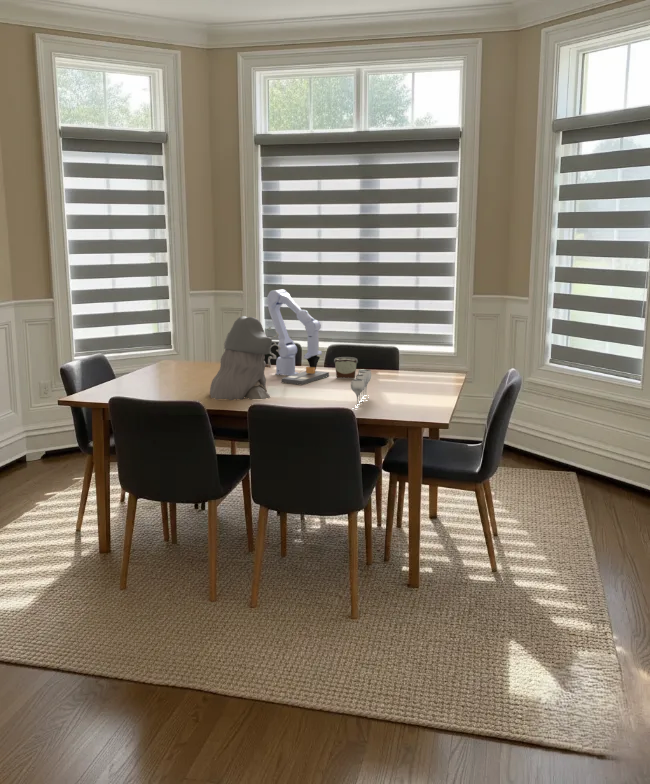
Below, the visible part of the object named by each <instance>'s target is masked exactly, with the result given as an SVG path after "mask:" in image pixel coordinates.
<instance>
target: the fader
mask: <svg viewBox="0 0 650 784" xmlns="http://www.w3.org/2000/svg"><path fill="white" fill-rule="evenodd" d="M305 371H306V373H311V374H314V373H315V371H316V370H315V367H310V365H309V366H306V367H305Z"/></svg>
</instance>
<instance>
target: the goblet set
mask: <svg viewBox="0 0 650 784" xmlns="http://www.w3.org/2000/svg"><path fill="white" fill-rule="evenodd" d="M371 379H372V370H371V369H366V368H363V369H361V368H360V369H358V374H355V379H354V378H352V379H351V383H350V390H352V392H354V393H355V395H356V404H357V406H354V407H355V408H359V407H360V406H358V405H360V404H361V403H360V402H364V401H365V400H362V399H366V398H364V396H367V388H368V384H369V383H370V381H371ZM362 396H363V397H362ZM360 398H361V400H360ZM358 401H359V403H358ZM352 409H353V410H355V409H354V408H352Z"/></svg>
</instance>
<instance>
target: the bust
mask: <svg viewBox="0 0 650 784" xmlns="http://www.w3.org/2000/svg"><path fill="white" fill-rule="evenodd" d="M232 324H233V325H232V327H231V328H230V330H229V332H228V333H227V335H226V338H225V340H224V344H223V345H224V347H223V348H224V349H225V350H224V352H223V354H222V355H221V357H220V367H219V369H218V371H217V373H216V374H215V376H214V377H213V379H212V380H211V384H210V388H209V395H210V399H212V398H215V399H214V400H219V399H229V400H230V401H238V400H237V399H240V400H244V399H248V398H249V399H248V400H252V399H263V400H266V398H268V399H270V398H271V397H270V396H271V395H270V394H269V393H268V389H267V387H266V384H267V377H266V375H265V369H266V368H271V367H272V364H271V359H272V360H277V355H276V354H274V353H273V352H272V351H271V350H272V347H274V346H276V347H277V348H278V347H279V350H280V349H281V347H280V346H279V345H278V343H277V342H276V341H273V338H278V336H279V333H278V332H276V330H275V329H274V330H273V329H272V326H269V327H267V330H268V331H269V330H270V331H274V332H275V333H276V335H274V336H271V337H269V336H267V335H266V332H265V331H264V328H263V325H262V323H261V322H260V320H259V319H258V318H256V317H253V316H246V315H243V316H239V317H238V318H237V319H235V321H234V323H232ZM272 343H273V344H272ZM279 350H278V349H276V350H275V351H276V352H277V353H279ZM265 355H269V356H268V357H267V363H266V361H265ZM270 355H271V356H270ZM244 397H245V398H244ZM234 399H236V400H234ZM229 400H228V401H229Z"/></svg>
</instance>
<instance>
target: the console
mask: <svg viewBox="0 0 650 784" xmlns="http://www.w3.org/2000/svg"><path fill="white" fill-rule="evenodd" d="M326 376H328V377H329V376H330V372H328V371H319V370H315V373H314V374H311V373H306V370H305V371H301V372H298V374H295V375H291V376H288V375H287V376H285V377H282V378H281V383H282V382H286V383H285V384H290V383H293V385H299V384H301V385H300V386H302V385H306V384H309V382H310V383H312V382H311V381H313V382H315V381H314V380H316V381H318V380H317V379H319V380H321V379H320V378H322V379H324V378H323V377H325V378H327V377H326Z"/></svg>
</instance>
